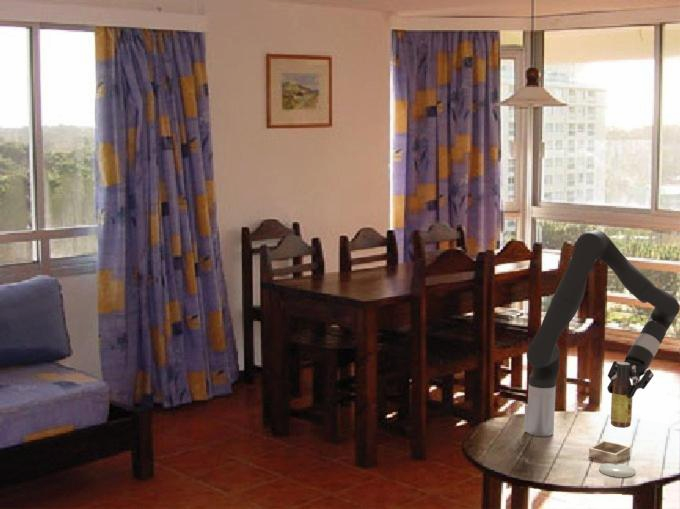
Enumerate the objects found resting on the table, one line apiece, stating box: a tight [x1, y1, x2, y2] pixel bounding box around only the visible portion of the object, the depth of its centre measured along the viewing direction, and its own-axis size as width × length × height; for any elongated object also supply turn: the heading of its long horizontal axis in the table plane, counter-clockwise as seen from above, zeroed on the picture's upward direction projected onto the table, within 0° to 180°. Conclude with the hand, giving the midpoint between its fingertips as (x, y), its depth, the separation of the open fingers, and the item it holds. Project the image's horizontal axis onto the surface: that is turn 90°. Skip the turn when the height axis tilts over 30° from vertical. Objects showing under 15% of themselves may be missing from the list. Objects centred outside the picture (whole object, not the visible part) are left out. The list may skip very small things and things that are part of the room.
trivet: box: [598, 462, 636, 478], centre depth 331 cm, size 11×11×1 cm
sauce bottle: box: [610, 361, 633, 429], centre depth 327 cm, size 6×6×20 cm
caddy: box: [588, 440, 631, 463], centre depth 344 cm, size 9×10×3 cm
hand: (618, 394), depth 326 cm, fingers closed on sauce bottle, 6 cm apart
